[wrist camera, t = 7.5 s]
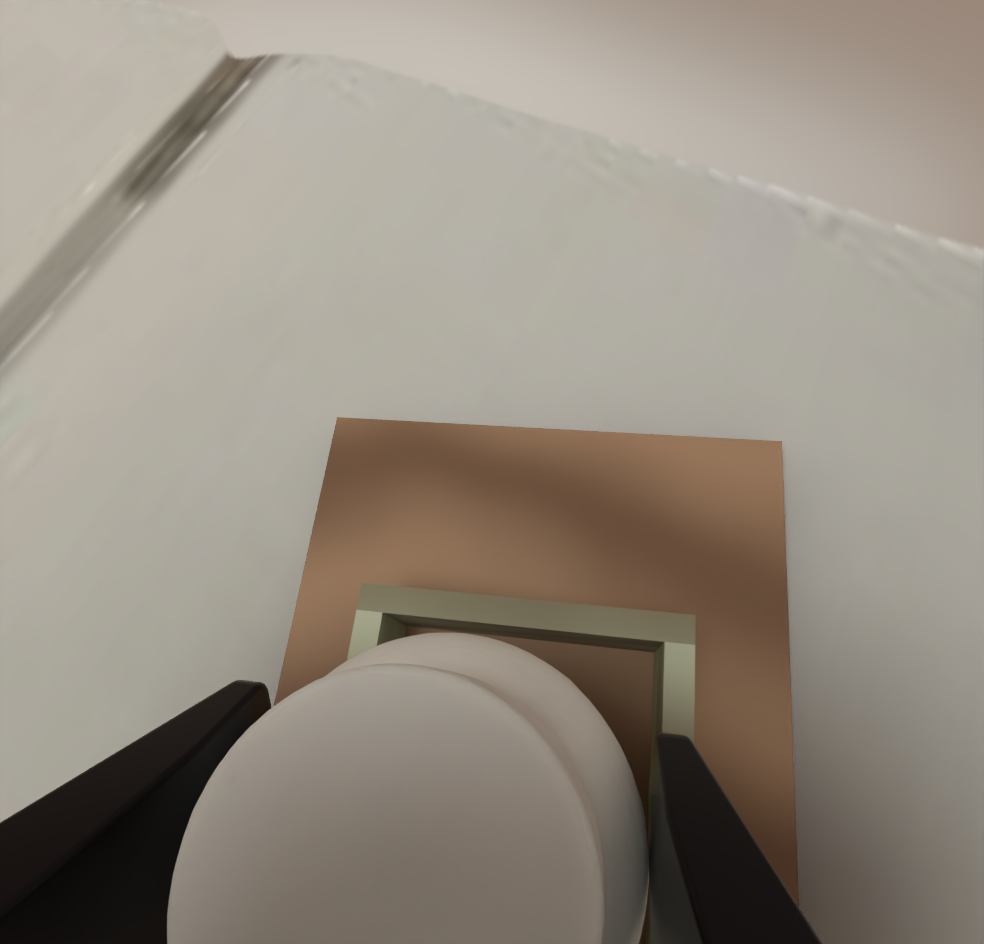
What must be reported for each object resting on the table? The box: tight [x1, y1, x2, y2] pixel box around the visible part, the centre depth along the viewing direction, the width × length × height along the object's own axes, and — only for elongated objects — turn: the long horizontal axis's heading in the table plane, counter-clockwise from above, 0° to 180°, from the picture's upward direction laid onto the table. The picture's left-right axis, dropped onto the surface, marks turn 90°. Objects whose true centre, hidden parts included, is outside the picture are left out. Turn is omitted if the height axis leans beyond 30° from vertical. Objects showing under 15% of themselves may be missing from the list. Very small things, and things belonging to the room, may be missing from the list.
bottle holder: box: [274, 417, 799, 944], centre depth 17 cm, size 20×14×4 cm
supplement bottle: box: [167, 633, 649, 944], centre depth 10 cm, size 5×5×10 cm
